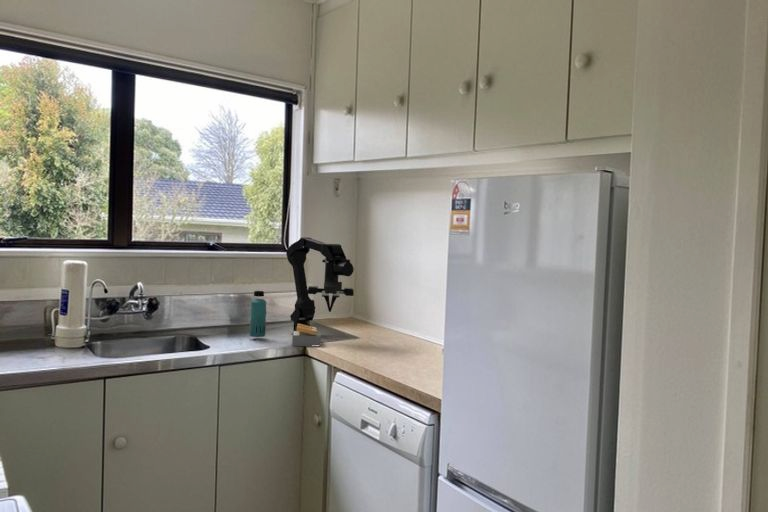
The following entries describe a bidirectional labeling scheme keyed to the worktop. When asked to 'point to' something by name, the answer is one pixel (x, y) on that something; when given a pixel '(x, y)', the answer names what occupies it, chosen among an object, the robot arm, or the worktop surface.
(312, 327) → the rocker far
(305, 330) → the rocker near
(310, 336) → the grey square bin
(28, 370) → the worktop surface
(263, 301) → the beverage bottle
